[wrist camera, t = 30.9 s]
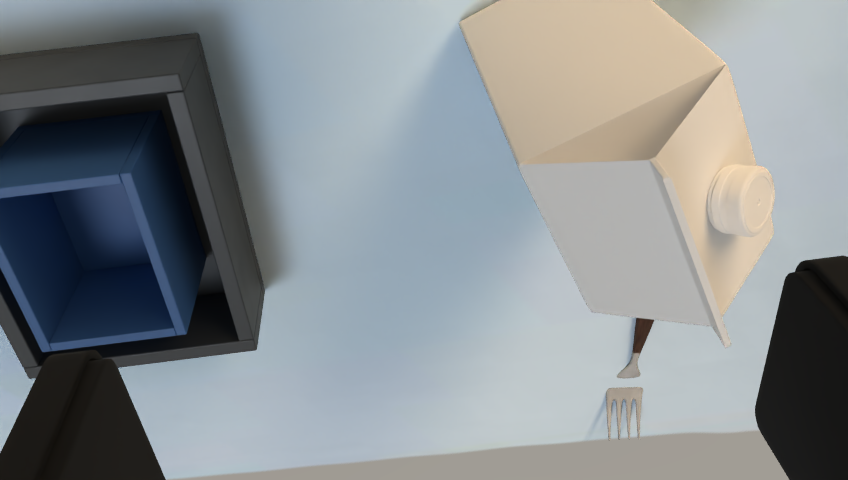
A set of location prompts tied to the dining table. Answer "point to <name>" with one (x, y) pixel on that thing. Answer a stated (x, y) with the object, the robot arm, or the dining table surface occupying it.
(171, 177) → the nested bin
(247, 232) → the base bin
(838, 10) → the dining table surface
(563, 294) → the dining table surface
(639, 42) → the milk carton
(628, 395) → the fork
